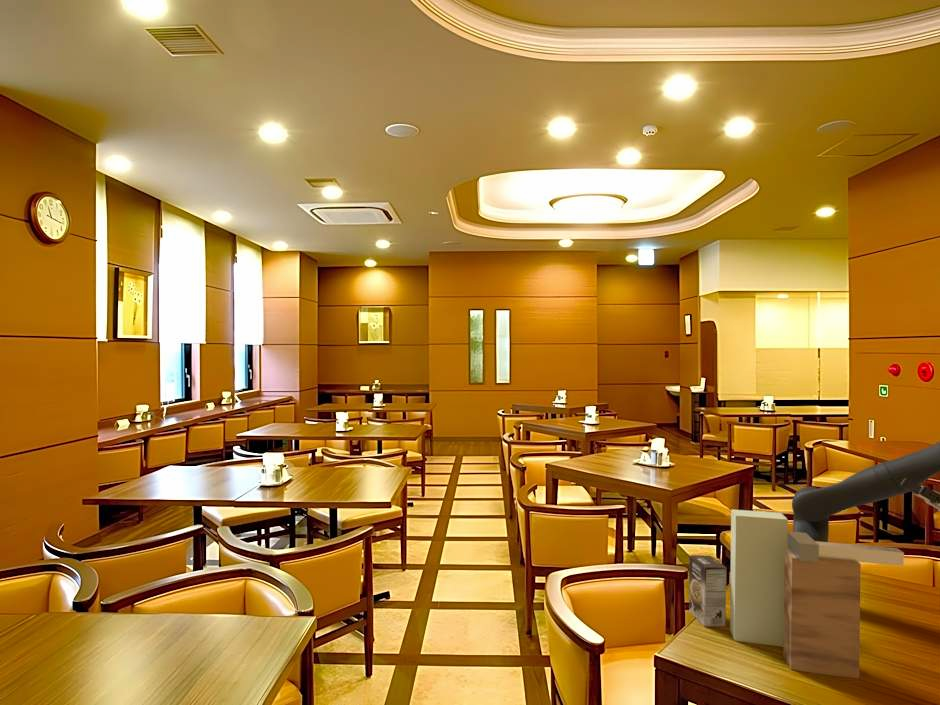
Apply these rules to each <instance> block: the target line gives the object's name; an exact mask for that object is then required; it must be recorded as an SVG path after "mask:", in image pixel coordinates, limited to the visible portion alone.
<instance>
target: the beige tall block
mask: <svg viewBox="0 0 940 705" xmlns="http://www.w3.org/2000/svg"><path fill="white" fill-rule="evenodd" d="M730 512H731V513H730V583H729V584H730V586H729V588H730V590H729V592H730V594H729V595H730V596H729V598H730V599H729V631H730V634H731V635H732V639H733V641H735V642H741V643H742V642H743V643H744V642H745V643H749V644H750V643H751V644H759V645H765V646H766V645H767V646H773V647H774V646H775V647H781V648H782V647H783V644H784V557H785V549H787V550H789V549H788V531H789V527H788V526H789V520H788V518H787V516H785V515H784V514H783V513H782V512H773V511H772V512H771V511H757V510H746V509H745V510H744V509H731V511H730Z"/></svg>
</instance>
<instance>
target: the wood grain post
mask: <svg viewBox="0 0 940 705" xmlns="http://www.w3.org/2000/svg"><path fill="white" fill-rule="evenodd" d="M861 567H862V566H861V562H855V561H844V560H833V559H821V558H819V562H809V561H799V560H798V559H797V558H796V557H795V555H794V554H793V553H792V552H791V551H790V550H789V549H788V550H787V549H785V557H784V644H783V650H782V651H783V655H782V656H783V658H784V660H785V662H786V664H787V667H789V669H790V670H791V671H796V672H797V671H799V672H806V673H812V674H813V673H814V674H821V675H828V676H836V677H842V678H843V677H845V678H849V679H850V678H851V679H856V680H857V679H860V653H861V652H860V651H861V650H860V649H861V648H860V647H861V646H860V644H861V643H860V640H861V639H860V638H861V634H860V633H861V631H860V630H861V571H862V570H861Z"/></svg>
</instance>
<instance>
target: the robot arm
mask: <svg viewBox="0 0 940 705" xmlns="http://www.w3.org/2000/svg"><path fill="white" fill-rule="evenodd" d="M937 473H940V441H939V442H937V443H934V444H932V445H929V446H928V447H925V448H922V449H920V450H916V451H913V452H911V453H907V454H905V455H902V456H899V457H897V458H894V459H890V460H887V461H884V462H883V461H882V462H881V463H878V464H875V465H871V466H869V467H867V468H864V469H861V470H859V471H858V472H855V473H854V474H853V475H850V476H848V477H847V478H845V479H843V480H841V481H839V482H837V483H834V484H832V485H831V484H830V485H828V486H824V487H820V488H818V487H814V486H804V487H801V488H799V489H798V490H797V491H796V492H795V493H794V495H793V497H792V501H791V507H792V512H793V519H792V520H793V521H792V524H793V525H792V531H791V532H802V533H807V534H808V535H809V536H810V537H811V538H812V539H813V540H814V541H817V542H829V532H830V531H829V528H830V527H829V526H830V517H831V516H833V515H836V514H838V513H841V512H843V511H846V510H848V509H852V508H855V507H859V506H863V505H867V504H872V503H876V502H879V501H883V500H888V499H891V498H895V497H899V496H901V495H903V494H907V493H909V492H911V493H913V495H914V496H916V497H918V498H920V499H922V500H924V503H926V504H927V505H929V506H932V507H933V508H935V509H937V511H938V512H940V492H939V491H936V490H933V489H931V488H929V487H928V486H924V485H922V484H923V483H925V482H926V481H927V480H929V479H930V478H931V477H933V476H934V475H936V474H937Z"/></svg>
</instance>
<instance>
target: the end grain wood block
mask: <svg viewBox="0 0 940 705" xmlns="http://www.w3.org/2000/svg"><path fill="white" fill-rule="evenodd" d="M788 550H790V551H791V552H792V553H793V554H794V555H795V557H796V558H797V559H798V560H799V561H809V562H819V558H821V559H833V560H844V561H855V562H859V563H866V564H867V563H869V564H876V565H877V564H878V565H879V564H880V565H889V566H890V565H891V566H901V567H904V558H905V557H904V556H905V552H904V551H902V550H901V549H899V548H898V547H889V546H875V545H865V544H864V545H863V544H852V543H839V542H829V541H828V542H817V541H814V540H813V539H812V538H811V537H810V536H809V535H808V534H807V533H802V532H792V531H789V530H788Z"/></svg>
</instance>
